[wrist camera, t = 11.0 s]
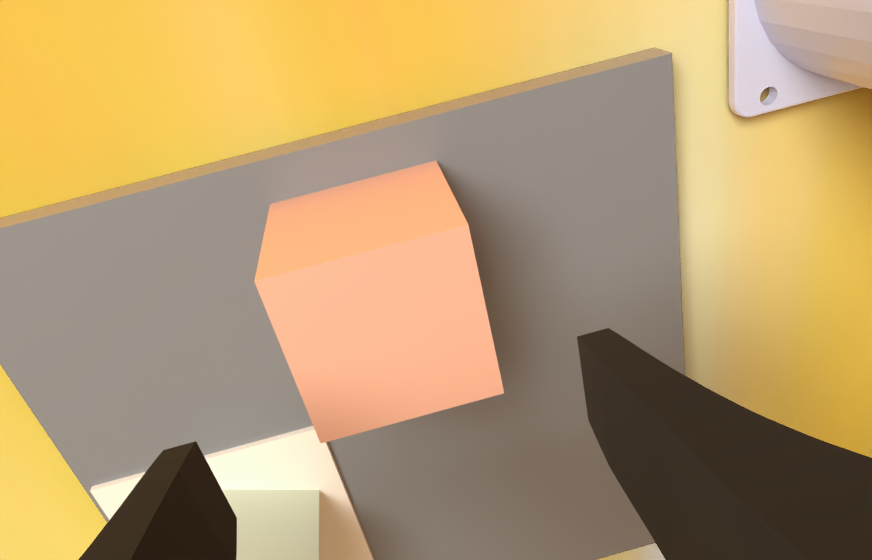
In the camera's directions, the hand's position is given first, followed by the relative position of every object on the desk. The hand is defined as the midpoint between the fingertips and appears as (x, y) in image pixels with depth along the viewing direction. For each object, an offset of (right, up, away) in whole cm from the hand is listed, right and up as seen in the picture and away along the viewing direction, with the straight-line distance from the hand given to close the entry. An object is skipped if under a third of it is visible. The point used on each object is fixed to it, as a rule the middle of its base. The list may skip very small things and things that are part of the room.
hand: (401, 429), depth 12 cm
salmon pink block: (-1, +3, +6) cm, 8 cm away
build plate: (-1, -1, +10) cm, 10 cm away
